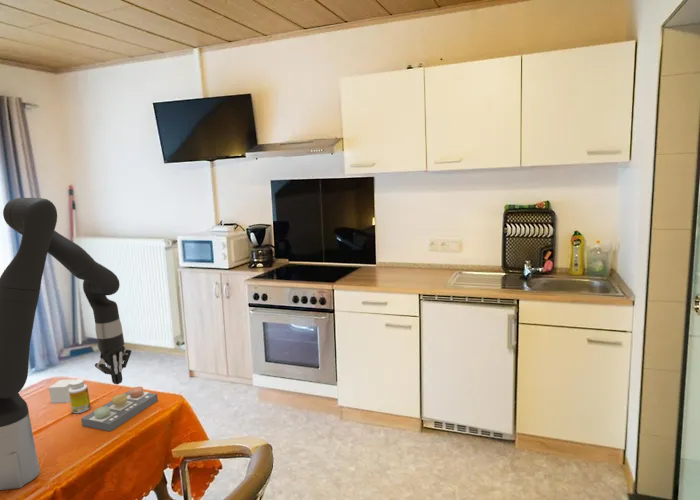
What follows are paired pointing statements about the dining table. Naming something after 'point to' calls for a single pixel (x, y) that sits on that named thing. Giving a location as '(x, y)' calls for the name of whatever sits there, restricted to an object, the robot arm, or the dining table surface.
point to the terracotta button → (136, 391)
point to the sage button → (102, 412)
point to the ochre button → (119, 399)
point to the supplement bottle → (79, 396)
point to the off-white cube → (60, 391)
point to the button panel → (120, 412)
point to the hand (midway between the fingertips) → (117, 383)
